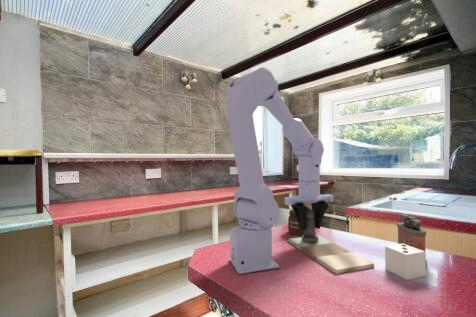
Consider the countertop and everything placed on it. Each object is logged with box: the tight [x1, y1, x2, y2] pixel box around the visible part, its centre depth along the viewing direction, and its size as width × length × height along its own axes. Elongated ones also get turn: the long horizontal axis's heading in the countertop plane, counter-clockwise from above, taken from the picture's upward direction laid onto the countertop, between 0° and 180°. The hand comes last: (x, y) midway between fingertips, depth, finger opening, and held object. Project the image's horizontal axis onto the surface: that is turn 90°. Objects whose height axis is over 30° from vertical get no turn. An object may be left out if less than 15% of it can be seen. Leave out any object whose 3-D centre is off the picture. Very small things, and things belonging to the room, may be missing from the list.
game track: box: [287, 234, 375, 275], centre depth 64 cm, size 10×21×1 cm, turn 16°
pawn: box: [301, 207, 318, 242], centre depth 71 cm, size 4×4×9 cm
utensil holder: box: [287, 203, 307, 236], centre depth 80 cm, size 6×6×12 cm
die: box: [384, 243, 427, 281], centre depth 52 cm, size 5×5×5 cm
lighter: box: [396, 213, 427, 266], centre depth 59 cm, size 8×3×10 cm, turn 179°
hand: (309, 228), depth 70 cm, fingers open, 4 cm apart
